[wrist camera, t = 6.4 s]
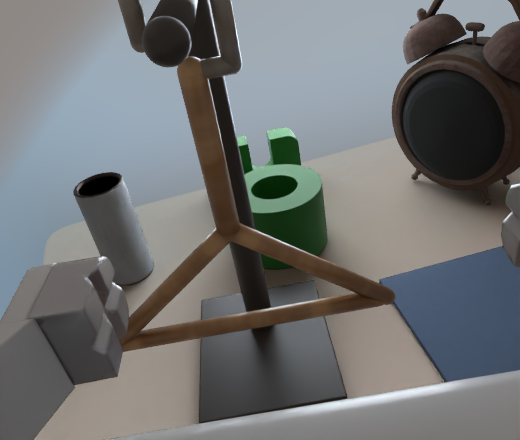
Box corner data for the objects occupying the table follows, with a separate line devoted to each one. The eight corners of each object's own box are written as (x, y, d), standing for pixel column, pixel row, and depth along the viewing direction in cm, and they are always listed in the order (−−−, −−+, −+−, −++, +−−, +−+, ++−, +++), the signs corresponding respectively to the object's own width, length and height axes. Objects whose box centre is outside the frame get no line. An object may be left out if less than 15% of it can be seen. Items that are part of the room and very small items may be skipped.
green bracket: (337, 257, 45) (332, 200, 42) (245, 277, 45) (232, 221, 41) (298, 172, 60) (292, 125, 57) (229, 187, 60) (218, 141, 56)
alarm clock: (383, 181, 55) (380, -5, 44) (421, 157, 59) (426, -22, 48) (507, 225, 45) (542, -2, 34) (544, 193, 48) (587, -24, 37)
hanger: (398, 307, 27) (400, -76, 17) (107, 359, 27) (-67, 11, 17) (391, 293, 28) (389, -77, 18) (111, 343, 28) (-51, 5, 18)
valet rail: (372, 493, 27) (341, -28, 12) (201, 523, 27) (-30, 44, 13) (315, 289, 42) (270, -60, 27) (204, 309, 42) (99, -27, 27)
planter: (102, 274, 49) (64, 188, 43) (139, 251, 51) (107, 167, 46) (125, 291, 46) (87, 202, 40) (163, 266, 48) (132, 178, 43)
